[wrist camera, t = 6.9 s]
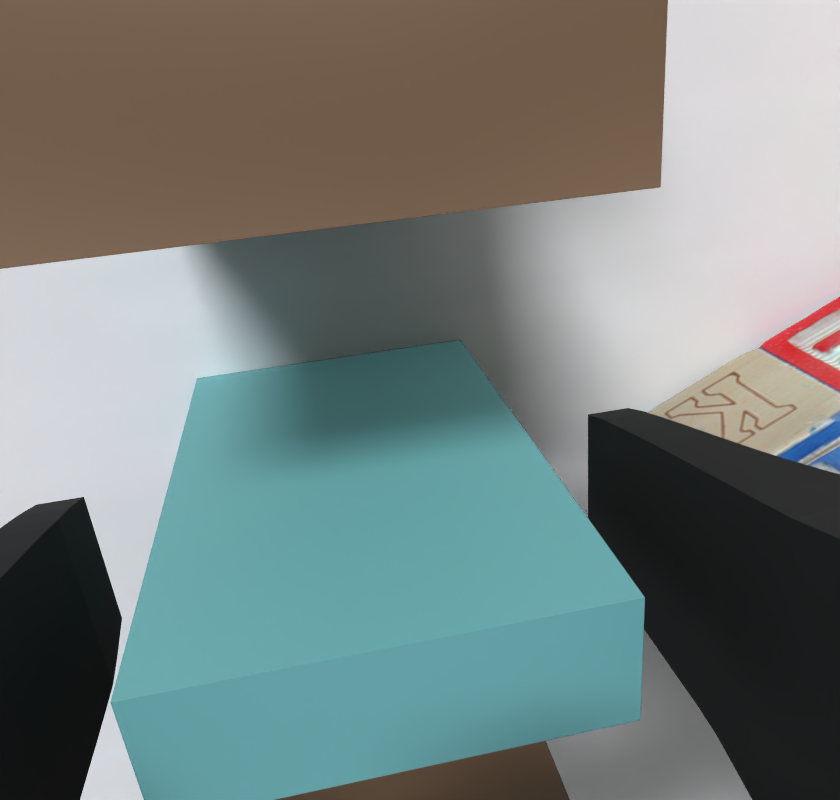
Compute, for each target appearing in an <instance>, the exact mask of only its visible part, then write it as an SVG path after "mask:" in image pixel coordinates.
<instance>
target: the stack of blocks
mask: <svg viewBox="0 0 840 800" xmlns="http://www.w3.org/2000/svg"><path fill="white" fill-rule="evenodd" d="M648 413H650V414H654V415H657V416H660V417H663V418H666V419H669V420H672V421H675V422H678V423H681V424H684V425H687V426H690V427H692V428H695V429H698V430H701V431H704V432H707V433H710V434H713V435H715V436H718V437H721V438H724V439H727V440H730V441H733V442H736V443H739V444H742V445H745V446H748V447H750V448H753V449H756V450H760V451H763V452H766V453H769V454H772V455H775V456H778V457H781V458H785V459H788V460H792V461H795V462H798V463H802V464H805V465H809V466H812V467H816V468H819V469H822V470H826V471H829V472H833V473H837V474H840V297H839V298H837V299H836V300H834V301H832V302H831V303H829V304H827V305H826V306H824V307H822V308H821V309H819V310H818V311H816V312H814V313H813V314H811V315H810V316H808V317H806V318H805V319H803V320H801V321H800V322H798V323H796V324H794V325H793V326H791V327H789V328H787V329H786V330H784V331H782V332H781V333H779V334H777V335H776V336H774V337H773V338H771V339H769V340H768V341H766V342H765V343H764V344H763V345H762V346H761V347H760V348H758V349H756V350H753V351H751V352H748V353H746V354H743V355H741V356H740V357H738V358H736V359H735V360H733V361H731V362H729V363H728V364H726V365H724V366H723V367H721V368H719V369H718V370H716V371H715V372H713V373H711V374H710V375H708V376H706V377H705V378H703V379H702V380H700V381H698V382H697V383H695V384H693V385H692V386H690V387H689V388H687V389H685V390H684V391H682V392H680V393H679V394H677V395H675V396H674V397H672V398H670V399H669V400H667V401H665V402H664V403H662V404H661V405H659V406H657V407H656V408H654V409H653V410H651V411H650V412H648Z"/></svg>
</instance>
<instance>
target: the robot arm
mask: <svg viewBox="0 0 840 800" xmlns="http://www.w3.org/2000/svg"><path fill="white" fill-rule="evenodd" d="M588 519H589V520H590V522H591V523H592V524H593V526H594V527H595V529H596V530H597V531H598V533H599V534H600V536H601V537H602V538H603V540H604V541H605V543H606V544H607V545H608V547H609V548H610V550H611V551H612V552H613V554H614V555H615V557H616V558H617V559H618V561H619V562H620V564H621V565H622V566H623V568H624V569H625V571H626V572H627V573H628V575H629V576H630V577H631V579H632V580H633V582H634V583H635V584H636V586H637V587H638V589H639V590H640V591H641V593H642V594H643V596H644V597H645V609H644V630H645V631H646V633H647V634H648V635H649V637H650V638H651V640H652V641H653V643H654V644H655V645H656V647H657V648H658V650H659V651H660V652H661V654H662V655H663V657H664V658H665V660H666V661H667V662H668V664H669V665H670V667H671V668H672V670H673V671H674V672H675V674H676V675H677V677H678V678H679V680H680V681H681V682H682V684H683V685H684V687H685V688H686V690H687V691H688V692H689V694H690V695H691V697H692V698H693V700H694V701H695V702H696V704H697V705H698V707H699V708H700V710H701V711H702V713H703V715H704V716H705V718H706V719H707V721H708V722H709V724H710V726H711V727H712V729H713V730H714V732H715V733H716V735H717V737H718V738H719V740H720V742H721V744H722V745H723V747H724V749H725V751H726V753H727V754H728V756H729V758H730V760H731V762H732V763H733V765H734V767H735V769H736V771H737V772H738V774H739V776H740V778H741V780H742V781H743V783H744V785H745V787H746V789H747V791H748V792H749V794H750V796H751V798H752V800H840V474H837V473H833V472H829V471H826V470H822V469H819V468H816V467H812V466H809V465H805V464H802V463H798V462H795V461H792V460H788V459H785V458H781V457H778V456H775V455H772V454H769V453H766V452H763V451H760V450H756V449H753V448H750V447H748V446H745V445H742V444H739V443H736V442H733V441H730V440H727V439H724V438H721V437H718V436H715V435H713V434H710V433H707V432H704V431H701V430H698V429H695V428H692V427H690V426H687V425H684V424H681V423H678V422H675V421H672V420H669V419H666V418H663V417H660V416H657V415H654V414H650V413H647V412H643V411H639V410H634V409H629V408H626V409H620V410H614V411H608V412H602V413H596V414H590V415H588ZM121 621H122V617H121V614H120V611H119V608H118V605H117V602H116V598H115V595H114V592H113V589H112V586H111V582H110V579H109V576H108V573H107V570H106V566H105V563H104V560H103V557H102V554H101V551H100V547H99V544H98V541H97V538H96V535H95V531H94V528H93V525H92V522H91V519H90V516H89V512H88V509H87V506H86V503H85V500H84V497H81V498H75V499H69V500H63V501H57V502H51V503H44V504H38V505H35V506H34V507H32V508H30V509H28V510H27V511H25V512H23V513H22V514H20V515H19V516H17V517H16V518H14V519H13V520H11V521H10V522H8V523H7V524H6V525H4V526H3V527H1V528H0V800H80V797H81V794H82V790H83V787H84V784H85V780H86V777H87V773H88V770H89V767H90V763H91V760H92V756H93V753H94V750H95V746H96V743H97V739H98V736H99V732H100V729H101V725H102V722H103V718H104V715H105V711H106V708H107V704H108V700H109V697H110V693H111V689H112V686H113V680H114V674H115V667H116V661H117V654H118V646H119V637H120V629H121Z"/></svg>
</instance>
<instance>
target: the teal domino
mask: <svg viewBox="0 0 840 800" xmlns="http://www.w3.org/2000/svg"><path fill="white" fill-rule="evenodd" d="M644 609H645V597H644V596H643V594H642V593H641V591H640V590H639V589H638V587H637V586H636V584H635V583H634V582H633V580H632V579H631V577H630V576H629V575H628V573H627V572H626V571H625V569H624V568H623V566H622V565H621V564H620V562H619V561H618V559H617V558H616V557H615V555H614V554H613V552H612V551H611V550H610V548H609V547H608V545H607V544H606V543H605V541H604V540H603V538H602V537H601V536H600V534H599V533H598V531H597V530H596V529H595V527H594V526H593V524H592V523H591V522H590V520H589V519H588V518H587V516H586V515H585V513H584V512H583V511H582V509H581V508H580V506H579V505H578V504H577V502H576V501H575V499H574V498H573V497H572V495H571V494H570V492H569V491H568V490H567V488H566V487H565V485H564V484H563V483H562V481H561V480H560V478H559V477H558V476H557V474H556V473H555V472H554V470H553V469H552V467H551V466H550V465H549V463H548V462H547V460H546V459H545V458H544V456H543V455H542V453H541V452H540V451H539V449H538V448H537V446H536V445H535V444H534V442H533V441H532V439H531V438H530V437H529V435H528V434H527V432H526V431H525V430H524V428H523V427H522V425H521V424H520V423H519V421H518V420H517V419H516V417H515V416H514V414H513V413H512V412H511V410H510V409H509V407H508V406H507V405H506V403H505V402H504V400H503V399H502V398H501V396H500V395H499V393H498V392H497V391H496V389H495V388H494V386H493V385H492V384H491V382H490V381H489V379H488V378H487V377H486V375H485V374H484V373H483V371H482V370H481V368H480V367H479V366H478V364H477V363H476V361H475V360H474V359H473V357H472V356H471V354H470V353H469V352H468V350H467V349H466V347H465V346H464V345H463V343H462V342H461V340H456V341H449V342H443V343H436V344H429V345H422V346H415V347H408V348H402V349H395V350H388V351H381V352H374V353H367V354H361V355H354V356H347V357H340V358H333V359H327V360H320V361H313V362H306V363H299V364H292V365H286V366H279V367H272V368H265V369H258V370H252V371H245V372H238V373H231V374H224V375H217V376H211V377H204V378H197V381H196V385H195V389H194V392H193V396H192V400H191V404H190V407H189V411H188V415H187V419H186V422H185V426H184V430H183V434H182V437H181V441H180V445H179V449H178V452H177V456H176V460H175V463H174V467H173V471H172V475H171V478H170V482H169V486H168V490H167V493H166V497H165V501H164V505H163V508H162V512H161V516H160V520H159V523H158V527H157V531H156V535H155V538H154V542H153V546H152V550H151V553H150V557H149V561H148V564H147V568H146V572H145V576H144V579H143V583H142V587H141V591H140V594H139V598H138V602H137V606H136V609H135V613H134V617H133V621H132V624H131V628H130V632H129V636H128V639H127V643H126V647H125V651H124V654H123V658H122V662H121V665H120V669H119V673H118V677H117V680H116V684H115V688H114V692H113V695H112V699H111V705H112V708H113V711H114V714H115V717H116V720H117V723H118V726H119V729H120V732H121V734H122V737H123V740H124V743H125V746H126V749H127V752H128V755H129V758H130V761H131V764H132V766H133V769H134V772H135V775H136V778H137V781H138V784H139V787H140V790H141V793H142V795H143V798H144V800H276V799H280V798H285V797H289V796H294V795H299V794H303V793H308V792H312V791H317V790H321V789H326V788H331V787H335V786H340V785H344V784H349V783H354V782H358V781H363V780H367V779H372V778H377V777H381V776H386V775H390V774H395V773H399V772H404V771H409V770H413V769H418V768H422V767H427V766H432V765H436V764H441V763H445V762H450V761H455V760H459V759H464V758H468V757H473V756H477V755H482V754H487V753H491V752H496V751H500V750H505V749H510V748H514V747H519V746H523V745H528V744H533V743H537V742H542V741H546V740H551V739H556V738H560V737H565V736H569V735H574V734H578V733H583V732H588V731H592V730H597V729H601V728H606V727H611V726H615V725H620V724H624V723H629V722H634V721H638V720H640V716H641V689H642V663H643V636H644Z"/></svg>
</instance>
